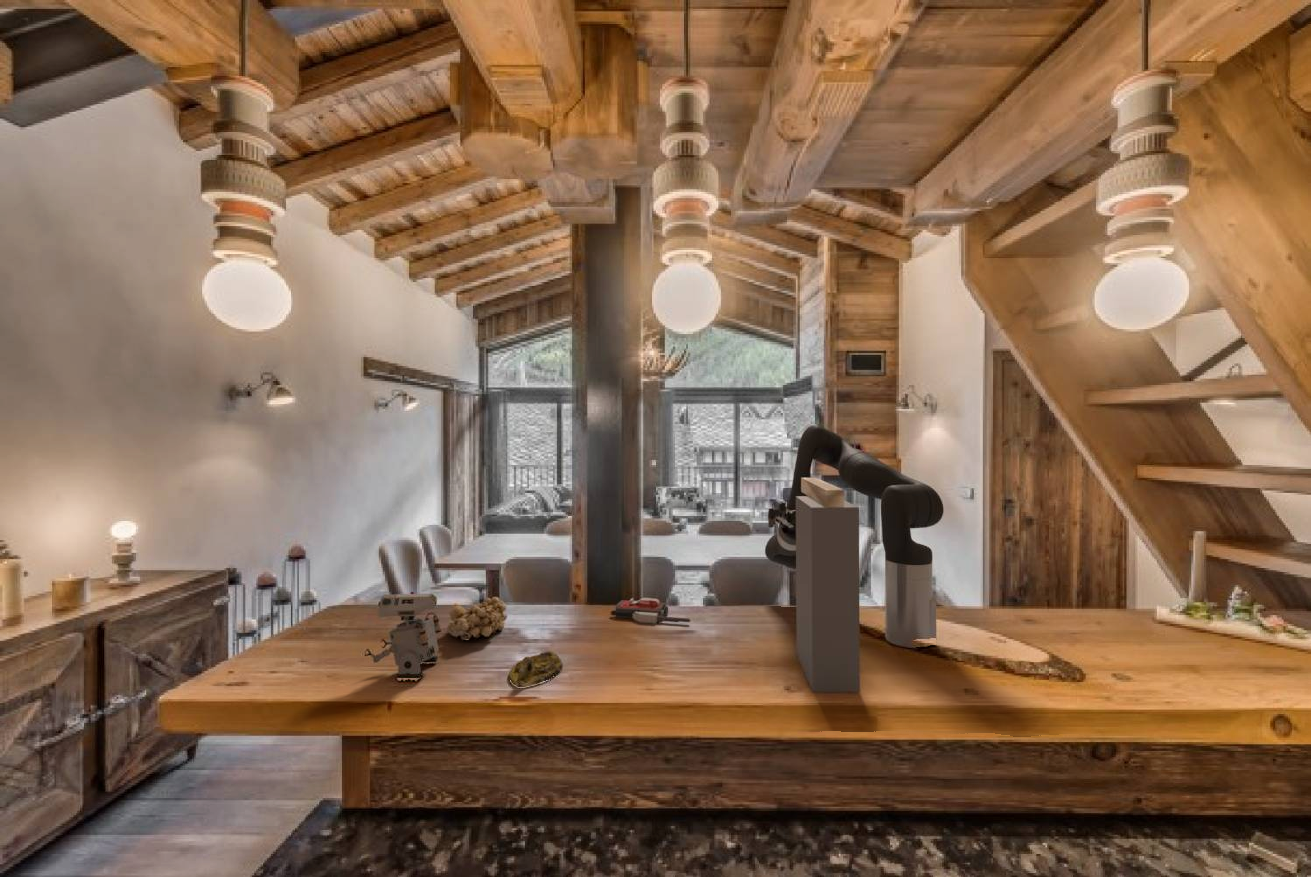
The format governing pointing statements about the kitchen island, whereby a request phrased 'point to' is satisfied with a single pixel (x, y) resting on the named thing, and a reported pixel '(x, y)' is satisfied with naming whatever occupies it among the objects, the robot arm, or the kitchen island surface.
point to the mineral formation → (477, 619)
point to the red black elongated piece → (645, 611)
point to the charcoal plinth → (828, 595)
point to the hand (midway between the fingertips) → (803, 505)
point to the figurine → (410, 632)
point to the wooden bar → (823, 492)
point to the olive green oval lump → (535, 669)
